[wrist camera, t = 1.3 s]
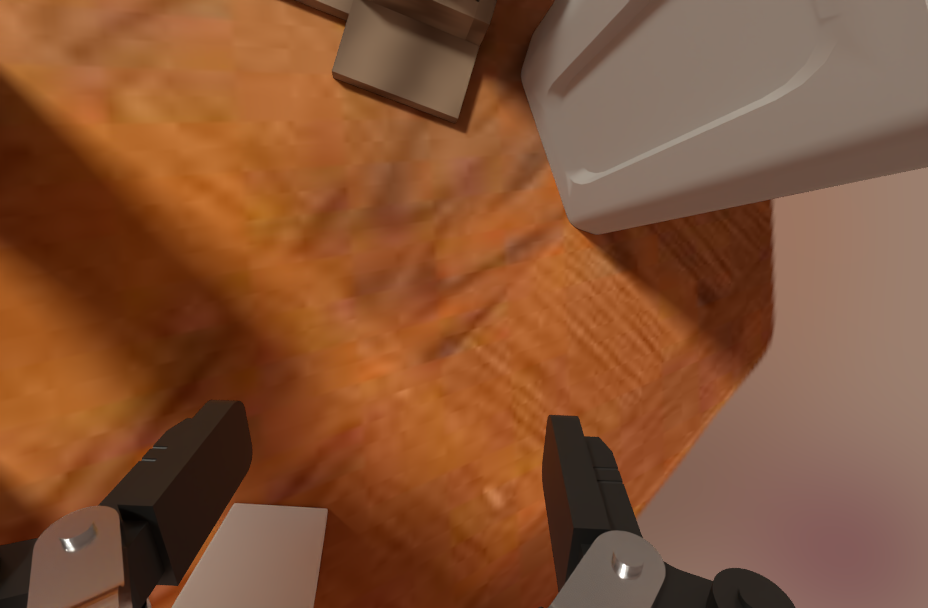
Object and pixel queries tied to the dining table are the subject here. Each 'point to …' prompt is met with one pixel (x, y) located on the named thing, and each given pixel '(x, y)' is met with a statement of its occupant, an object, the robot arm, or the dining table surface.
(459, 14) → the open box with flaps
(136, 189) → the dining table surface
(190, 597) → the milk carton
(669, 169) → the grey triangular pillar
